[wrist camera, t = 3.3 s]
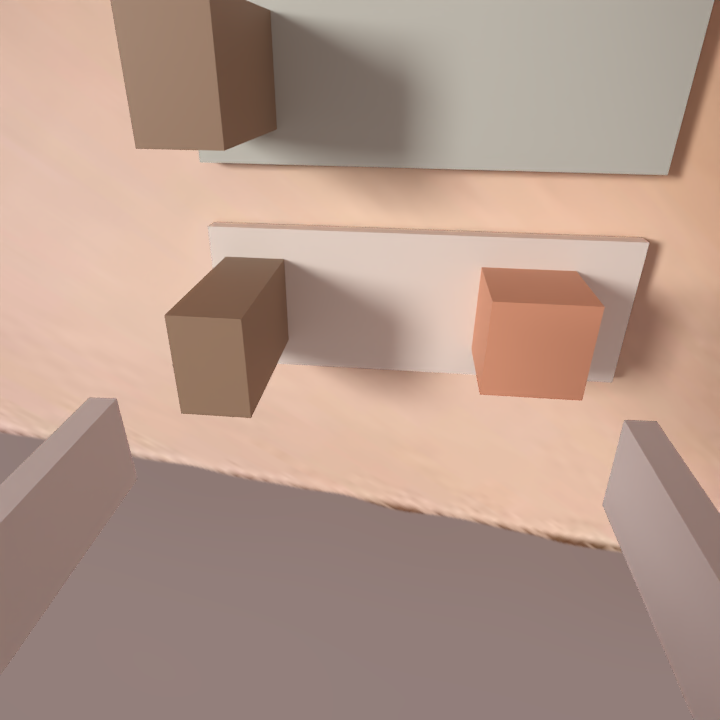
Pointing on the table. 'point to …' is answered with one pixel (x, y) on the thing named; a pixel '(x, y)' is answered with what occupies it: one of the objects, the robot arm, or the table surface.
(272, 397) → the table surface
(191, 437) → the table surface
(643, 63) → the strip with upright block
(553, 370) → the cube
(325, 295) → the cube strip
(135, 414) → the table surface
